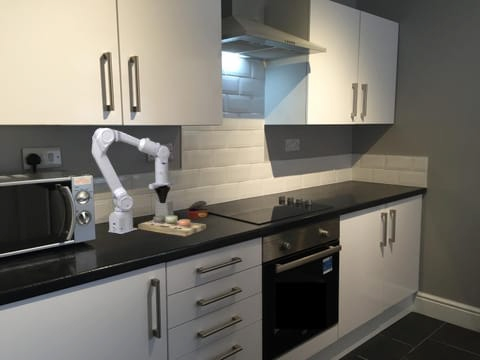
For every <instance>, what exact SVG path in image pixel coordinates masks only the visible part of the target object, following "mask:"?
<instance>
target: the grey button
mask: <svg viewBox="0 0 480 360" xmlns="http://www.w3.org/2000/svg"><path fill="white" fill-rule="evenodd" d="M152 220H154V222H155V223H162V222H165V216H153V219H152Z"/></svg>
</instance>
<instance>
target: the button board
mask: <svg viewBox="0 0 480 360" xmlns="http://www.w3.org/2000/svg"><path fill="white" fill-rule="evenodd" d="M137 228H138V229H137V230H142V231H149V232H155V233H161V234H167V235H175V236H180V237H181V236H182V237H188V236H191V235H193V234H196V233H199V232H202V231H204V230H207V224H204V223H197V222H191V225H190V226H179V220H178V221H177V222H173V223H169V222H166V219H165V222H162V223H155V222H154V220H153V219H152V220H149V221H145V222H141V223H138V224H137Z"/></svg>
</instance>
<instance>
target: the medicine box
mask: <svg viewBox="0 0 480 360" xmlns="http://www.w3.org/2000/svg"><path fill="white" fill-rule="evenodd" d="M154 208H155V209H154V211H155V216H165V219H166V216H172V215H173V216H174V201H173V200H172V199H166V202H165V203H160V201H159V199H156V200H154ZM155 216H154V217H155Z"/></svg>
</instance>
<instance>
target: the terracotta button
mask: <svg viewBox="0 0 480 360" xmlns="http://www.w3.org/2000/svg"><path fill="white" fill-rule="evenodd" d="M178 221H179V226H190V225H191V223H192V222H191V219H189V218H183V219H179V220H178Z"/></svg>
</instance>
